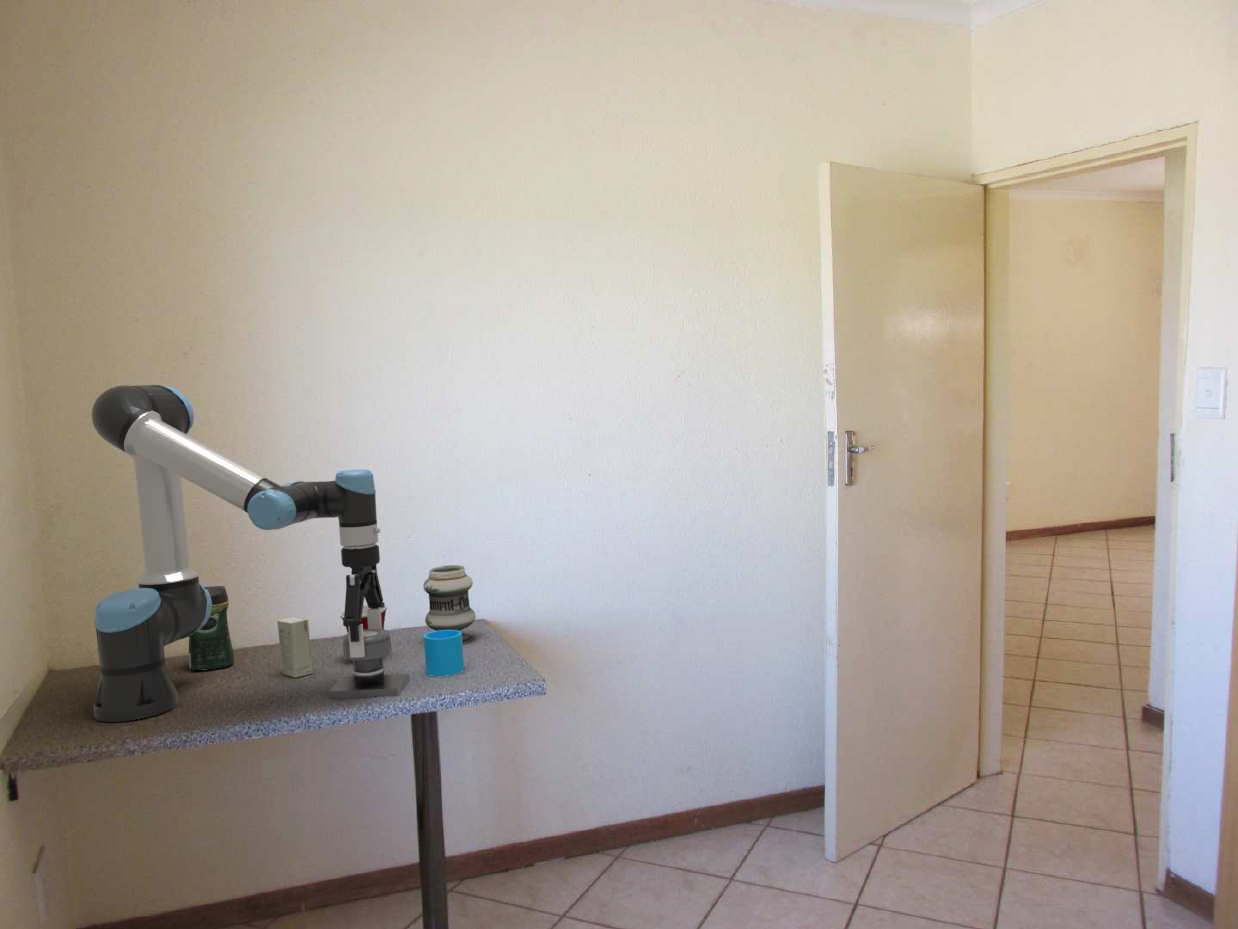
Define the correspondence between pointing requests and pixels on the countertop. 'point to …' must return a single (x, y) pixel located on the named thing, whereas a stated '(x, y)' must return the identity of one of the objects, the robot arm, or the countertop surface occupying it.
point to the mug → (443, 652)
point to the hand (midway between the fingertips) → (367, 648)
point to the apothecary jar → (449, 599)
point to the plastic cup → (364, 617)
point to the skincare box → (295, 647)
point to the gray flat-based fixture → (368, 681)
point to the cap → (371, 644)
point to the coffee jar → (212, 636)
